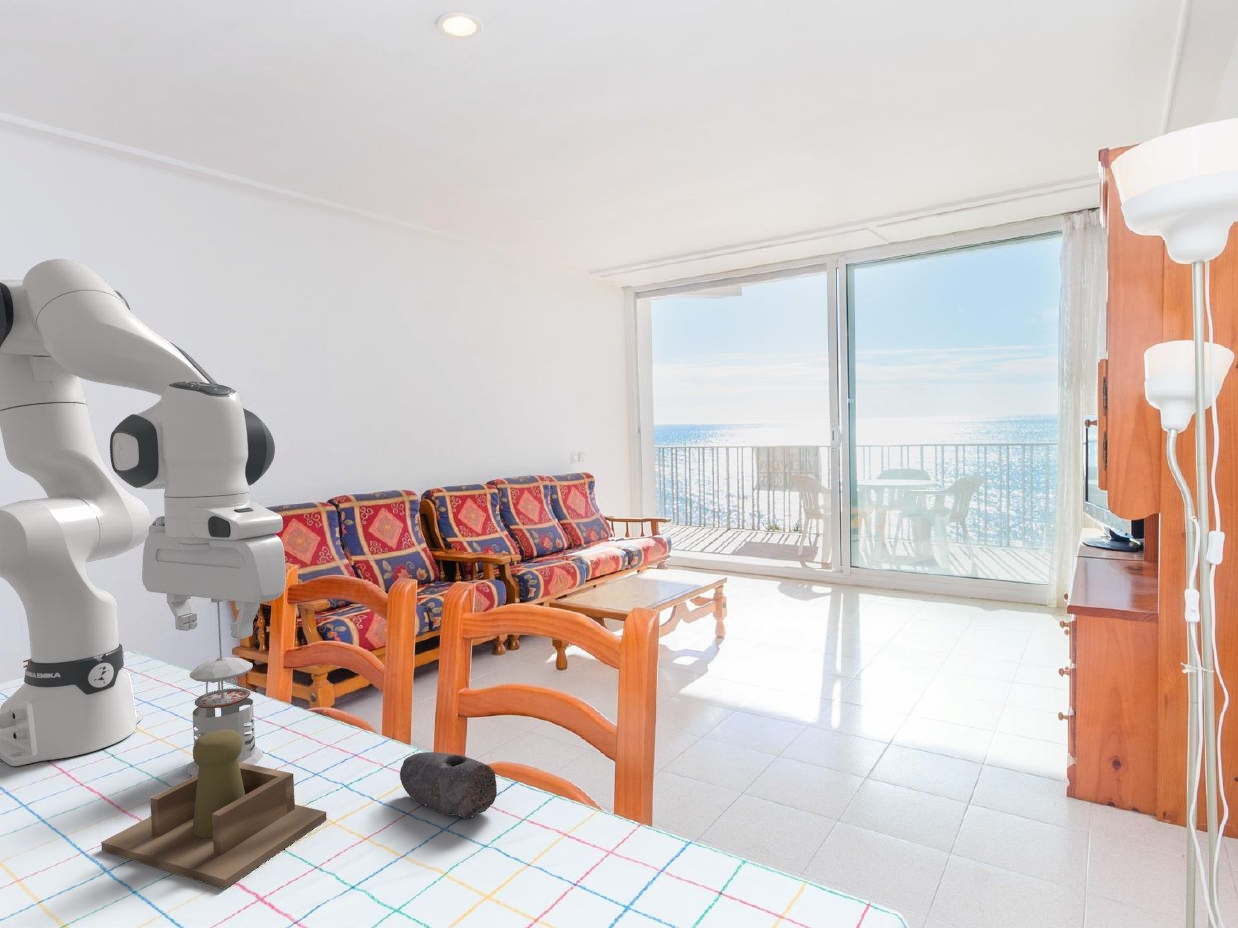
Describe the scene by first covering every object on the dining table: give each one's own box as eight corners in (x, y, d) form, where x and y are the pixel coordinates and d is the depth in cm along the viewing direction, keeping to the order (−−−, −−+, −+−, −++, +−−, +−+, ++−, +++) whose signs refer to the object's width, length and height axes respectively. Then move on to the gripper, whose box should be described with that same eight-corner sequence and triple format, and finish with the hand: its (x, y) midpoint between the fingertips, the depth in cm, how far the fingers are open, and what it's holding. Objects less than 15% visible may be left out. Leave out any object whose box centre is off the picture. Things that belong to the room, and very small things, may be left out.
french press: (194, 785, 96) (185, 605, 95) (178, 756, 105) (170, 591, 104) (271, 761, 103) (263, 592, 101) (250, 736, 111) (243, 581, 110)
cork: (223, 840, 81) (219, 747, 80) (179, 834, 82) (175, 742, 82) (261, 812, 87) (257, 725, 86) (219, 807, 88) (215, 721, 88)
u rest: (101, 850, 81) (99, 803, 81) (211, 791, 94) (209, 751, 94) (225, 888, 74) (223, 838, 73) (326, 819, 87) (324, 776, 86)
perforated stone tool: (387, 800, 91) (385, 748, 91) (419, 783, 95) (417, 733, 95) (471, 834, 83) (469, 777, 83) (501, 813, 87) (500, 759, 87)
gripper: (124, 518, 84) (129, 631, 85) (247, 525, 77) (252, 649, 77) (174, 512, 90) (179, 618, 91) (293, 517, 82) (298, 633, 83)
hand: (213, 633), depth 84 cm, fingers open, 8 cm apart
